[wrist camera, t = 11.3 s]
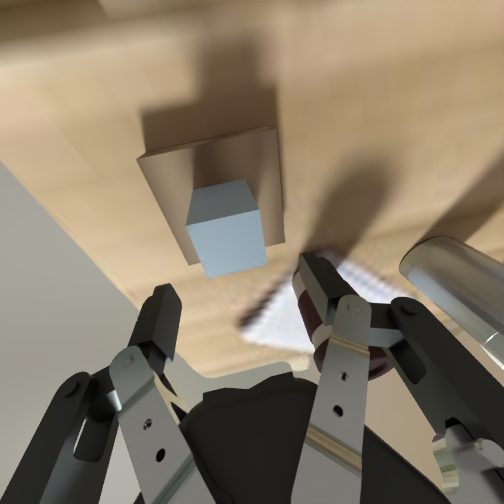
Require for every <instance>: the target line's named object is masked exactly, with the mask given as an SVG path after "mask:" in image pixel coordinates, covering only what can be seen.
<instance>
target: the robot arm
mask: <svg viewBox="0 0 504 504" xmlns="http://www.w3.org/2000/svg"><path fill="white" fill-rule="evenodd" d="M299 269H300V276H301V280H302V282H303V284H304V286H305V288H306V290H307V292H308V294H309V296H310V298H311V300H312V302H313V304H314V306H315V308H316V310H317V312H318V314H319V316H320V318H321V320H322V321H323V323H324V325H325V326H328V325H331V326H332V332H331V336H330V339H329V342H328V346H327V351H326V355H325V359H324V363H323V367H322V371H321V376H320V380H319V384H318V385H317V384H315V383H313V382H311V381H308V380H306V379H302V378H295V377H293V373H292V372H287V373H283V374H279V375H276V376H271V377H269V378H267V379H265V380H264V381H262V382H260V383H259V384H257V385H255V386H253V387H252V388H250V389H237V388H222V389H218V390H213V391H209V392H206V393H203V401H201V402H200V403H198V404H197V405H196V406H195V407H193V408H192V409H191V410H190V409H189V408H188V407H187V405H186V404H185V403H184V402H183V401H182V399H181V398H180V396H179V394H178V393H177V391H176V390H175V388H174V386H173V384H172V383H171V381H170V380H169V378H168V376H167V374H166V373H165V372H164V366H165V364H167V363H171V362H173V358H174V352H175V346H176V340H177V334H178V328H179V322H180V316H181V310H182V304H181V300H180V298H179V296H178V295H177V293H176V292H175V290H174V288H173V287H172V285H171V284H170V283H168V284H163V285H159V286H156V287H155V289H154V292H153V295H152V296H150V297H148V298H147V300H146V301H145V302H144V304H143V305H142V308H141V311H140V314H139V316H138V321H137V322H136V324H135V327H134V330H133V333H132V335H131V338H130V341H129V343H128V346H127V348H125V349H123V350H122V351H121V352H119V353H118V354H117V355H116V357H115V358H114V359H113V361H112V362H111V364H110V365H109V366H108V367H106V368H104V369H102V370H100V371H98V372H96V373H95V374H93V375H90V374H89V373H87V372H79V373H76V374H75V375H73V376H71V377H70V378H68V379H67V380H66V381H65V382H64V383H63V384H62V385H61V386H60V387H59V389H58V390H57V392H56V393H55V395H54V397H53V399H52V401H51V403H50V405H49V407H48V409H47V411H46V413H45V414H44V417H43V418H42V420H41V422H40V424H39V426H38V428H37V430H36V432H35V434H34V436H33V438H32V440H31V442H30V444H29V446H28V448H27V449H26V451H25V453H24V455H23V457H22V459H21V461H20V463H19V465H18V467H17V469H16V471H15V473H14V475H13V477H12V479H11V481H10V482H9V485H8V486H7V489H6V490H5V492H4V494H3V496H2V498H1V500H0V504H98V503H99V500H100V496H101V492H102V488H103V484H104V480H105V476H106V473H107V468H108V465H109V461H110V457H111V453H112V450H113V446H114V442H115V438H116V434H117V430H118V426H119V424H120V427H121V430H122V434H123V436H124V440H125V443H126V446H127V449H128V452H129V455H130V458H131V461H132V464H133V467H134V470H135V473H136V477H137V480H138V483H139V485H140V489H141V492H140V493H139V495H138V497H137V499H136V500H135V502H134V503H133V504H504V387H503V386H502V385H501V384H500V383H499V382H498V381H497V380H496V379H495V378H494V377H493V376H492V375H491V374H490V373H489V372H488V371H487V370H486V369H485V368H484V367H483V365H482V364H481V363H480V362H479V361H478V360H476V359H475V357H474V356H472V354H471V353H470V352H469V351H468V350H467V349H466V348H465V347H464V346H463V345H462V344H461V343H460V342H459V341H458V340H457V339H456V338H455V337H454V336H453V335H452V334H451V333H450V332H449V330H448V329H447V328H446V327H445V326H444V325H443V324H442V323H441V322H440V321H439V320H438V319H437V318H436V317H435V316H434V315H433V314H432V313H431V312H430V311H429V310H428V309H427V308H426V307H425V306H424V305H423V304H422V303H420V302H419V301H417V300H415V299H412V298H408V297H397V298H394V299H393V300H392V301H391V304H383V303H370V302H367V301H366V300H365V299H364V298H362V297H360V296H357V295H355V294H354V293H353V292H352V290H351V289H350V288H349V286H348V285H347V284H346V282H345V281H344V280H343V278H342V277H341V276H340V274H338V272H337V270H336V269H335V268H334V266H333V265H332V264H331V262H330V261H328V260H327V259H325V258H324V257H320V258H317V257H316V255H315V254H314V252H313V251H308V252H304V253H300V254H299ZM399 270H400V274H401V275H402V276H404V277H405V278H406V279H407V280H408V281H409V282H410V283H411V284H413V285H414V286H415V287H416V288H417V289H418V290H419V291H420V292H421V293H423V294H424V295H425V296H426V297H427V298H428V299H429V300H430V301H432V302H433V303H434V304H435V305H436V306H437V307H438V308H440V309H441V310H442V311H443V312H444V313H445V314H446V315H447V316H449V317H450V318H451V319H452V320H453V321H454V322H456V323H457V324H458V325H459V326H460V327H461V328H462V329H463V330H464V331H466V332H467V333H468V334H469V335H470V336H471V337H472V338H474V339H475V340H476V341H477V342H478V343H479V344H480V345H481V346H483V347H484V348H485V349H486V350H487V351H488V352H489V353H491V354H492V355H493V356H494V357H495V358H496V359H497V360H499V361H500V362H501V363H502V364H503V365H504V264H502V263H501V262H499V261H497V260H495V259H493V258H491V257H489V256H488V255H486V254H484V253H482V252H480V251H478V250H476V249H475V248H473V247H471V246H469V245H467V244H465V243H463V242H462V241H460V240H458V239H449V238H448V237H444V236H442V237H435V238H432V239H429V240H427V241H425V242H423V243H421V244H419V245H418V246H416V247H415V248H414V249H413V250H411V251H410V252H409V253H408V254H407V255H406V257H405V258H404V259H403V261H402V263H401V264H400V268H399ZM368 346H378V347H382V348H383V350H384V351H385V353H386V355H387V356H388V358H389V359H390V361H391V362H392V364H393V366H394V367H395V369H396V370H397V372H398V374H399V375H400V377H401V378H402V380H403V382H404V383H405V385H406V386H407V388H408V390H409V391H410V393H411V394H412V396H413V397H414V399H415V401H416V402H417V404H418V405H419V407H420V409H421V410H422V412H423V413H424V415H425V417H426V418H427V420H428V421H429V423H430V424H431V426H432V427H433V429H434V431H435V432H436V435H435V436H434V438H433V440H432V449H433V453H434V456H435V459H436V461H437V463H438V465H439V467H440V470H441V473H442V477H443V487H442V491H441V490H439V488H438V487H436V486H435V484H434V483H433V482H431V481H430V480H429V479H428V478H427V477H426V476H424V475H423V474H422V473H421V472H420V471H419V470H417V469H416V468H415V467H414V466H413V465H412V464H410V463H409V462H408V461H407V460H406V459H404V458H403V457H402V456H401V455H400V454H399V453H398V452H396V451H395V450H394V449H393V448H392V447H391V446H389V445H388V444H387V443H386V442H384V441H383V440H382V439H381V438H380V437H379V436H378V435H376V434H375V433H374V432H373V431H372V430H370V429H369V428H368V427H367V426H366V425H365V424H364V419H365V408H366V396H367V384H368V372H369V360H370V352H369V350H368ZM84 419H86V423H85V425H84V428H83V431H82V434H81V436H80V439H79V441H78V444H77V447H76V450H75V452H74V454H73V451H74V450H73V449H74V446H75V443H76V440H77V437H78V435H79V432H80V430H81V427H82V424H83V421H84Z"/></svg>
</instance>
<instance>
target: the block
mask: <svg viewBox="0 0 504 504" xmlns="http://www.w3.org/2000/svg"><path fill="white" fill-rule="evenodd" d="M186 229H187V231H188V233H189V236H190V238H191V240H192V243H193V245H194V247H195V250H196V252H197V254H198V257H199V259H200V261H201V264H202V266H203V268H204V271H205V273H206V275H207V278H213V277H217V276H221V275H225V274H229V273H234V272H238V271H242V270H246V269H251V268H255V267H259V266H263V265H267V258H266V252H265V245H264V238H263V231H262V224H261V217H260V211H259V208H258V206H257V204H256V201H255V199H254V197H253V195H252V193H251V191H250V189H249V187H248V185H247V182H246V180H245V179H241V180H236V181H232V182H227V183H222V184H218V185H213V186H209V187H204V188H199V189H195V190H193V192H192V197H191V201H190V206H189V211H188V216H187V221H186Z"/></svg>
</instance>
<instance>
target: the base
mask: <svg viewBox="0 0 504 504" xmlns="http://www.w3.org/2000/svg"><path fill="white" fill-rule="evenodd" d="M136 160H137V162H138V164H139V166H140V168H141V170H142V173H143V175H144V177H145V179H146V181H147V183H148V185H149V187H150V189H151V191H152V193H153V195H154V197H155V199H156V201H157V203H158V205H159V207H160V209H161V211H162V213H163V215H164V217H165V219H166V221H167V223H168V225H169V227H170V229H171V231H172V233H173V235H174V237H175V239H176V241H177V243H178V245H179V247H180V249H181V251H182V253H183V255H184V257H185V259H186V261H187V263H188V265H193V264H197V263H201V261H200V259H199V257H198V254H197V252H196V250H195V247H194V245H193V243H192V240H191V238H190V236H189V233H188V231H187V229H186V221H187V216H188V211H189V206H190V201H191V197H192V192H193V190H195V189H199V188H204V187H209V186H213V185H218V184H222V183H227V182H232V181H236V180H241V179H245V180H246V182H247V185H248V187H249V189H250V191H251V193H252V195H253V197H254V199H255V201H256V204H257V206H258V208H259V211H260V217H261V224H262V231H263V238H264V245H265V247H268V246H272V245H276V244H280V243H284V242H285V235H284V222H283V209H282V195H281V182H280V169H279V156H278V142H277V129H276V128H273V127H270V126H265V127H260V128H256V129H251V130H247V131H242V132H238V133H233V134H229V135H224V136H219V137H215V138H210V139H206V140H201V141H197V142H192V143H187V144H183V145H178V146H174V147H169V148H165V149H160V150H155V151H151V152H146V153H144V154H143V155H142V156H140V157H139V158H137V159H136Z"/></svg>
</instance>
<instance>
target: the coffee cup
mask: <svg viewBox="0 0 504 504" xmlns="http://www.w3.org/2000/svg"><path fill="white" fill-rule="evenodd" d="M344 281H345V280H344ZM345 282H346V281H345ZM346 284H347V285H348V286H349V288H350V289H351V290H352V292H353V293H354V294H355V295H357V296H359V295H358V294H357V292H356V291H355V290H354V289H353V288H352V287H351V286H350V285H349V284H348V283H347V282H346ZM292 285H293V289H294V292H295V295H296V297H297V300H298V307H299V310H300V313H301V316H302V319H303V321H304V324H305V327H306V330H307V333H308V336H309V338H310V341H311V343H312V344H313V345H314V347H315V352H314V361H315V364H316V366H317V368H318V371H319V372H320V373H321V371H322V367H323V363H324V359H325V355H326V351H327V346H328V342H329V339H330V336H331V332H332V326H331V325H328V326H325V325H324V323H323V321H322V320H321V318H320V316H319V314H318V312H317V310H316V308H315V306H314V304H313V302H312V300H311V298H310V296H309V294H308V292H307V290H306V288H305V286H304V284H303V282H302V280H301V276H300V270H299V271H298V272H297V273H296V275H295V276H294V278H293V282H292ZM368 350H369V352H370V360H369V372H368V381H370V380H372V379H375V378H377V377H380V376H382V375H383V374H385V373H386V372H388V371H389V370H391V369H392V368H393V367H394V366H393V364H392V362H391V361H390V359H389V358H388V356H387V355H386V353H385V351H384V350H383V348H382V347H378V346H368Z"/></svg>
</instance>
